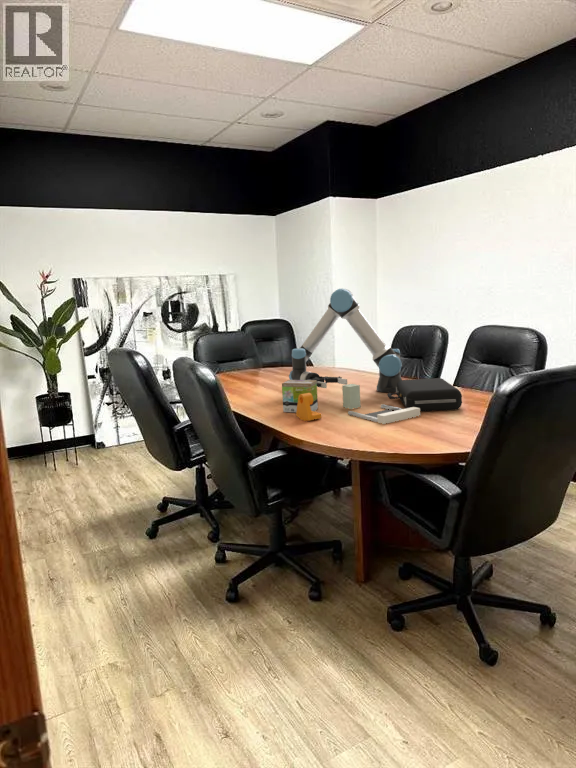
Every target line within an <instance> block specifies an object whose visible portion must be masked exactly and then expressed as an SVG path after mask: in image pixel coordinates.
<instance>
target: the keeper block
mask: <svg viewBox="0 0 576 768" xmlns="http://www.w3.org/2000/svg"><path fill="white" fill-rule="evenodd" d="M360 387H361V386H360V384H355V383H347V385H345V384H341V389H342V407H345V408H344V409H347V408H349V409H348V410H353V408H355V409H359V408H358V407H360V408H361V388H360Z"/></svg>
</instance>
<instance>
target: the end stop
mask: <svg viewBox="0 0 576 768" xmlns="http://www.w3.org/2000/svg"><path fill="white" fill-rule="evenodd" d="M419 415H420V416H421V412H420V408H417V407H411V408H406V407H405V408H402V409H401V410H397V411H392V412H387V413H382V414H378V415H377V422H378V424H381V423H382V425H386V423H387V424H390V423H395V421H396V422H399V420H400V421H403V420H404V421H405V420H408V418H409V419H413V418H417V417H416V416H418V417H420V416H419ZM412 417H413V418H412ZM377 422H376V423H377Z"/></svg>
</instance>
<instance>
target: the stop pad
mask: <svg viewBox="0 0 576 768" xmlns="http://www.w3.org/2000/svg"><path fill="white" fill-rule="evenodd" d="M387 412H392V410H388V409H383V410H380V411H374V412H369V413H365V415H368V416H372V417H376V418H377V415H378V414H382V413H387Z"/></svg>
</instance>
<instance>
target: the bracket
mask: <svg viewBox="0 0 576 768" xmlns="http://www.w3.org/2000/svg"><path fill="white" fill-rule="evenodd" d="M311 404H313V396H312V394H311V393H305V394H300V395H299V397H298V404H297V411H296V412H295V413H296V417H297V418H299V420H301V421H303V422H308V421H314V419H315V420H319V419H322V413H320V412H317V411H311V408H310V405H311Z"/></svg>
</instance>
